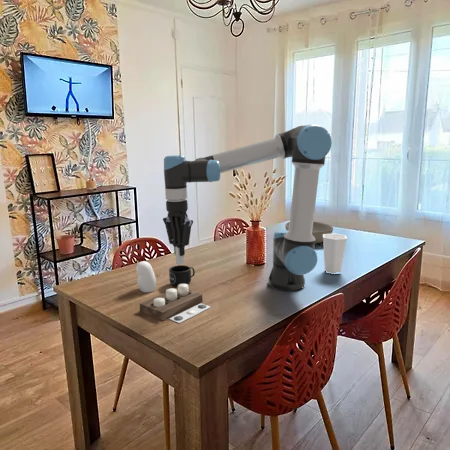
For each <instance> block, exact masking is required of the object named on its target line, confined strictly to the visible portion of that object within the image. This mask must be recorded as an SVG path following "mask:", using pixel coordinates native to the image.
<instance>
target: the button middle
mask: <svg viewBox="0 0 450 450" xmlns="http://www.w3.org/2000/svg"><path fill="white" fill-rule="evenodd" d="M165 293H166V301H169V302H174V301H176V300H177V289H176V288H173V287H172V288H166V290H165Z"/></svg>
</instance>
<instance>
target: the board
mask: <svg viewBox="0 0 450 450" xmlns="http://www.w3.org/2000/svg"><path fill="white" fill-rule="evenodd" d="M175 289H177V300H176V301H174V302H169V301H166V292H163V293H162V294H159V295H157V296H154V297H152V298H149V299H147V300H144V301H142V302H140V303H139V312H142V313H143V314H145V315H149V316H151V317H153V318H155V319H158V320H160V321H165V320H168V319H169V318H171V317H174V316H176V315H178V314H180V313H182V312H184V311H186V310H188V309H190V308H192V307H194V306H196V305H198V304H200V303H201V304H202V303H203V293H200V292H197V291H193V290H191V289H189V295H187V296H185V297H181V296H179V295H178V287H176V288H175ZM156 298H164V299H165V306H162V307H160V308H157V307H155V306H154V299H156Z"/></svg>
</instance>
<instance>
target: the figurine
mask: <svg viewBox="0 0 450 450" xmlns="http://www.w3.org/2000/svg"><path fill="white" fill-rule="evenodd" d="M135 269H136V273H137V276H138V278H137V279H136V284H137V286H138V287H139V290H140V292H141V293H151V292H154V291H155V290H156V288H157V278H156V274H155V272H154V268H153V267H152V265H151V263H150V262H148V261H145V260H143V261H139V262H138V263H137V264H136V267H135Z"/></svg>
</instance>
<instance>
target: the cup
mask: <svg viewBox="0 0 450 450" xmlns="http://www.w3.org/2000/svg"><path fill="white" fill-rule="evenodd" d="M347 239H348V238H347V235H345V234H342V233H341V234H340V233H333V232H332V233H331V234H323V243H322V245H323V246H322V247H323V260H324V264H323V265H324V272H325V271H327V272H331V273H336V272H341V273H342V267H343V261H344V256H345V255H344V254H345V252H346V251H345V250H346V245H347Z"/></svg>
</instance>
